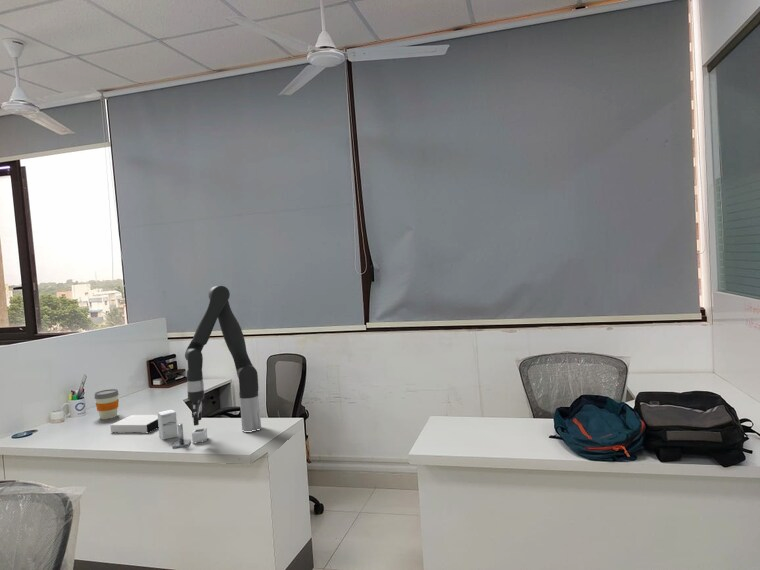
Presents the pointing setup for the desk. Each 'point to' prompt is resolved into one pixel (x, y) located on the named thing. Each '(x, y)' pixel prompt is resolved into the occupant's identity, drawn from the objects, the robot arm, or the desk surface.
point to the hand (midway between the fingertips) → (197, 422)
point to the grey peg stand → (181, 438)
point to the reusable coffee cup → (107, 403)
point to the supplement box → (167, 424)
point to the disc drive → (136, 424)
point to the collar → (199, 435)
